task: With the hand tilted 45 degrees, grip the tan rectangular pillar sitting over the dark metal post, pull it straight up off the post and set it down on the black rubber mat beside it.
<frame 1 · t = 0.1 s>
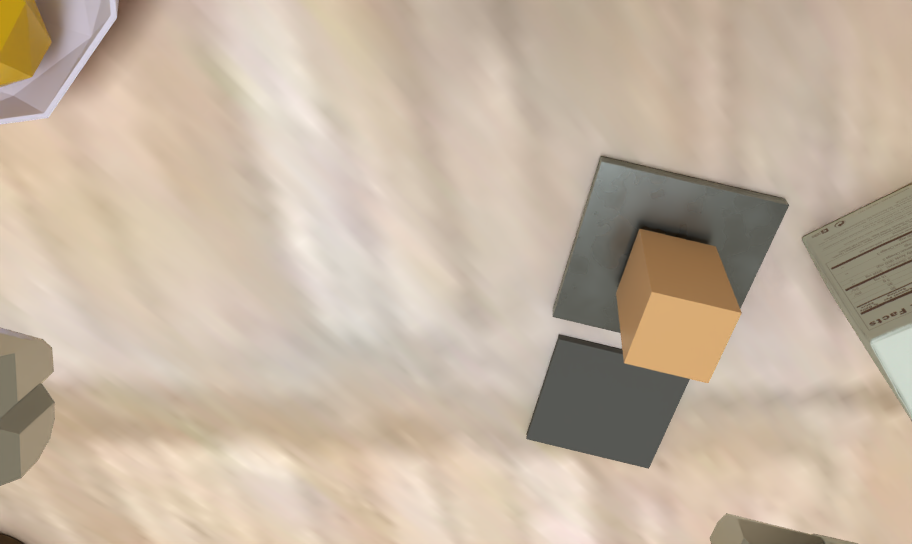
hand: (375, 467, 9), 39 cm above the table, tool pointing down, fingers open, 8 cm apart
supplement box: (876, 249, 47), on the table
mat: (605, 401, 56), on the table
post stand: (661, 257, 49), on the table
tan rectangular pillar: (664, 270, 48), point 2 cm above the table, touching post stand
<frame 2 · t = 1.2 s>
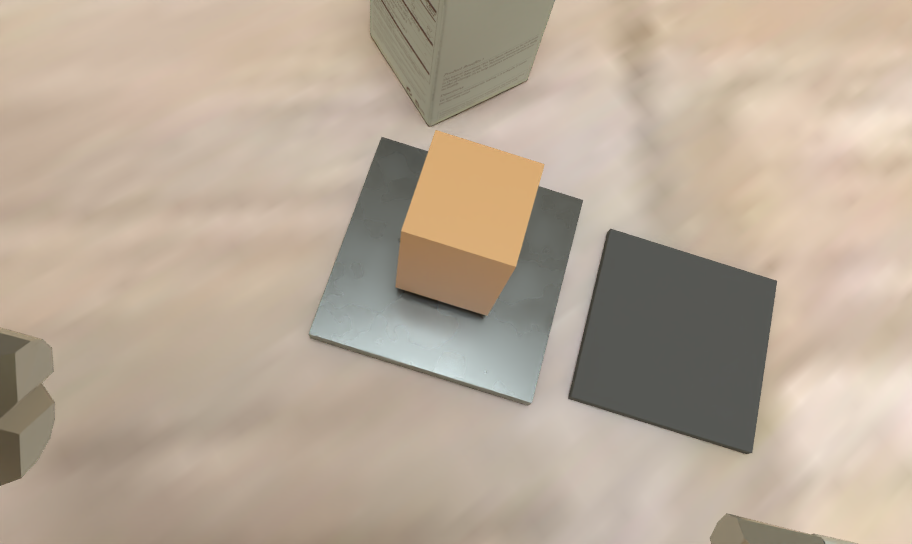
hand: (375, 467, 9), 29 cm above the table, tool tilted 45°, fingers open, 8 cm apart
supplement box: (447, 61, 45), on the table
mat: (674, 338, 40), on the table
post stand: (451, 269, 40), on the table
tan rectangular pillar: (454, 258, 39), point 2 cm above the table, touching post stand
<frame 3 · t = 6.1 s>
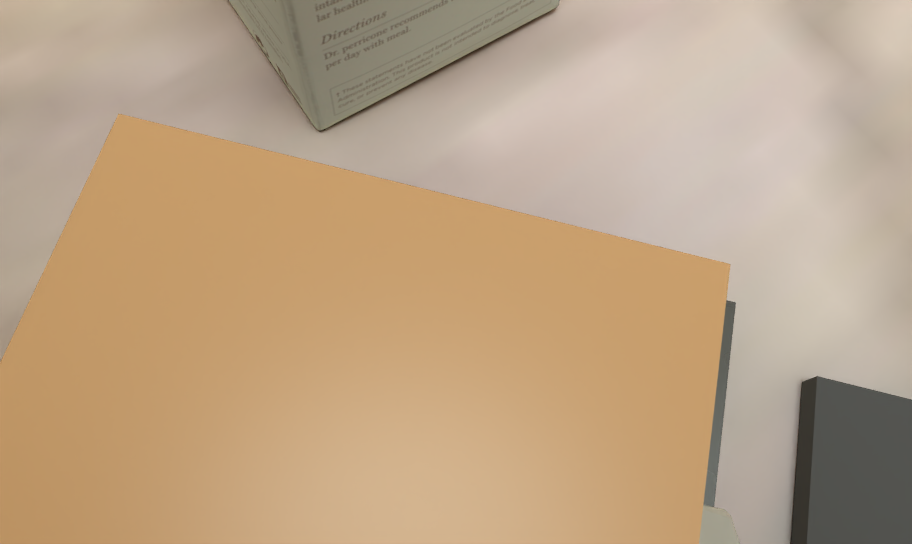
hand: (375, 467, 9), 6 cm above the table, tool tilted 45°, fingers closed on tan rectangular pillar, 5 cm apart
post stand: (379, 529, 14), on the table
tan rectangular pillar: (375, 527, 12), point 2 cm above the table, touching gripper, post stand
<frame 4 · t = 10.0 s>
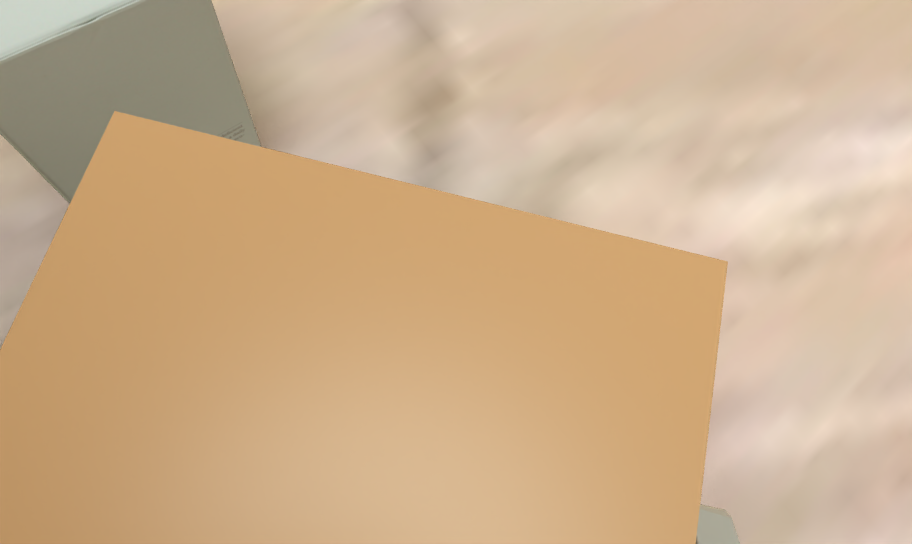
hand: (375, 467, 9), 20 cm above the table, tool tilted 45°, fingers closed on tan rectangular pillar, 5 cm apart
supplement box: (161, 154, 32), on the table
tan rectangular pillar: (374, 526, 12), point 16 cm above the table, touching gripper
when the fingers open (6 cm above the table, at t = 13.7 s): tan rectangular pillar drops 1 cm, resting on mat.
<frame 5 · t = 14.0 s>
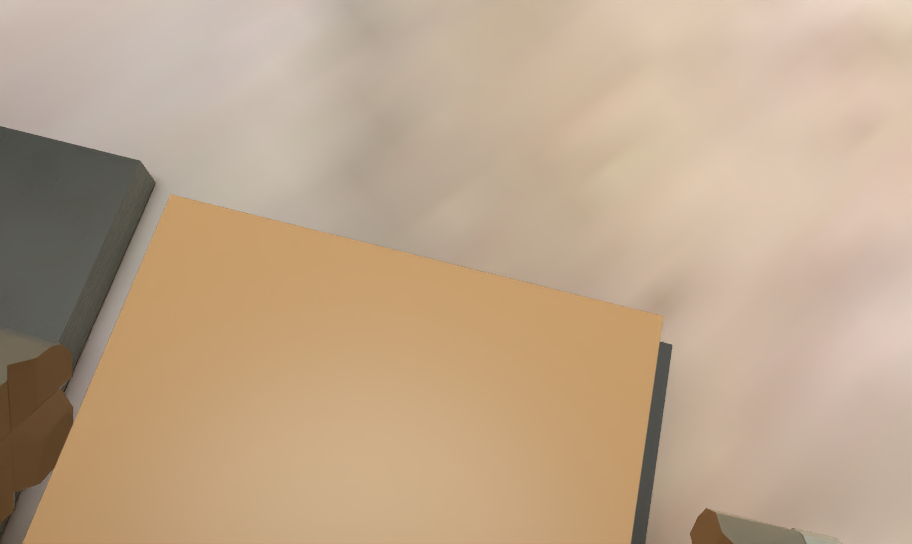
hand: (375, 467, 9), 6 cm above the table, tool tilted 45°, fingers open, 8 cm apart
mat: (381, 529, 14), on the table
tan rectangular pillar: (377, 528, 14), point 1 cm above the table, touching mat
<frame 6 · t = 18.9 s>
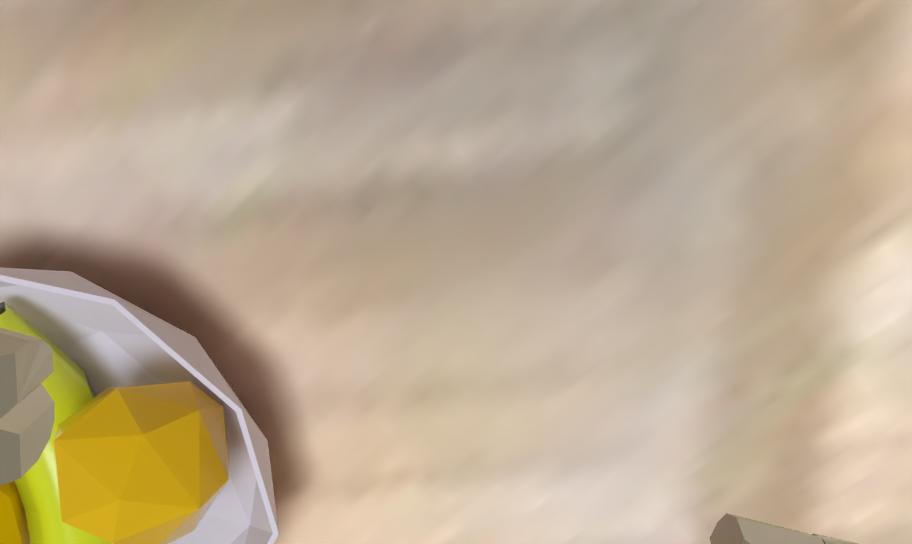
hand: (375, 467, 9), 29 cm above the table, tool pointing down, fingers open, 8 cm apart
fruit bowl: (108, 434, 47), on the table
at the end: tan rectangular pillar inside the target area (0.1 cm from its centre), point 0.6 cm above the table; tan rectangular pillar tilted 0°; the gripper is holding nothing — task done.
